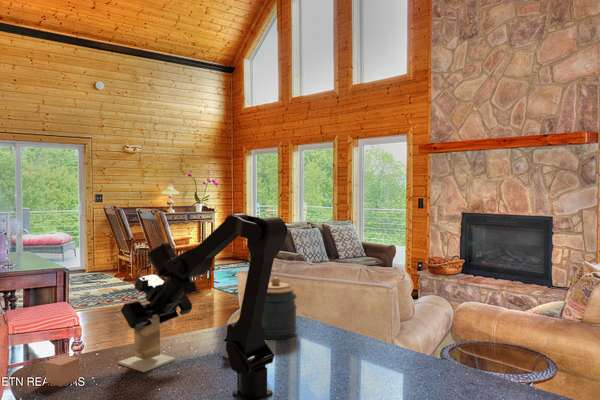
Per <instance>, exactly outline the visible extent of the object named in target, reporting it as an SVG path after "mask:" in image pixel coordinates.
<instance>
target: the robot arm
mask: <svg viewBox="0 0 600 400" xmlns="http://www.w3.org/2000/svg"><path fill="white" fill-rule="evenodd" d="M287 236H288V225H286V223H285V221H284V220H283V219H282V218H281V217H279V216H270V217H269V216H267V217H259V216H255V215H254V216H253V215H249V214H246V213H234V214H233V213H232V214H231V213H230V214H229V215H228V216H226V217H225V220H224V221H223V222H221V223H220V224H219V225H218V226H217V227H216V228H215V229H214V230H213V231H212V232H210V234H208V236H207V237H206V238H204V239H203V240H202V241H201V242H200V243H199V244H198V245H196V246H195V247H192V248H190V249H187V250H185V251H183V252H182V253H180V254H178V255H177V254H176V253H175V251H174V249H173V248H172V247H173V246H171V243H170V242H162V243H161V244H160V245H159V246H157V247H155V248H154V249H152V250H151V251H149V253H148V254H147V259H148V261H149V262H150V264H151V266H152V267H153V269H154V270H155V272H156V274H157V275H156V274H149V275H143V276H141V277H138V279H137V280H135V283H134V288H135V289H136V290H137V291H138V292H139V293H142V292H143V293H144V294H145V295H146V297H145V300H147V301H149V302H150V303H149V304H146V305H145V306H146V307H145V308H143V306H142V304H141V303H140V301H141V300H135V301H129V302H126V303H124V304H122V305H123V306H122V307H121V309H120V312H121V313H122V316H123V317H124V319H125V321H126V322H127V325H128V326H129V328H131V329H133V330H134V328H135V330H136V332H137V331H140V330H142V329H144V328H145V327H147V326H149V325H151V324H152V323H151V321H150V319H152V317H153V316H155V315H158V317H159V323H160V325H161V324H163V323H167V322H169V321H170V320H173V319H177V318H178V317H179V314H180V316H184V315H187V314H189V313H190V312H191V311H192V310H193V304H192V302H191V300H190V299H189V297H188V296H187V295H188V294H193V293H196V292H197V291H198V289H197V285H196V281H193V279H192V278H195V277H201V276H204V275H205V274H206V273H207V272H208V270H209V269H210V268H211V267H212V265H213V262H214V261H213V260H214V259H215V258H216V256H218V255H219V254H220V253H221V252H222V251H224V249H226V248H227V247H228V246H229V245H230V244H231V243H232V242H234V241H235V240H236V239H237V238H238V237H240V238H244V239H246V247H247V249H248V252H249V255H250V260H249V266H248V271H247V275H246V280H245V286H244V291H243V295H242V301H241V307H240V311H239V312H240V313H239V317H238V319H237V321H233V322H231V323H229V324H228V325H227V326H228V327H227V326H226V327H227V333H226V335H227V336H226V335H225V338H224V340H223V341H224V342H225V346H226V351H227V354H228V357H229V359H228V361H229V364H230V368H231V371H234V372H235V373H236V374H237V377H236V378H237V379H236V380H237V381H236V382H237V383H236V384H237V387H236V390H233V391H232V393H231V394H232V395H233V396H235V397H237V398H240V399H241V400H262V399H265V398H266V397H268V396H271V395H273V393H274V392H273V391H272V390H270V389H268V367H267V365H269V364H272V363H273V361H274V359H275V353H274V352H273V351H272V349H271V347H270V346H269V344H268V343H267V341H266V339H265V329H264V327H263V324H262V316H263V310H264V305H265V300H266V295H267V290H268V285H269V283H270V279H271V276H272V270H273V263H274V262H275V258H276V257H277V255H278V254H279V253H280V252H281V250H282V248H283V247H284V244H285V241H286V239H287ZM161 277H165V280H163V279H162V278H161ZM178 308H179V309H180V311H179V314H178V312H177V311H178Z"/></svg>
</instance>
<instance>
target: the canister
mask: <svg viewBox="0 0 600 400" xmlns="http://www.w3.org/2000/svg"><path fill="white" fill-rule="evenodd" d="M280 280H281V279H280V278H279V277H276V276H275V277H273V278H271V281H269V285H268V290H267V295H266V300H265V305H264V310H263V316H262V324H263V327H264V329H265V340H271V341H272V340H275V341H276V340H286V339H291V338H293V337H294V336H296V334H297V329H298V327H297V305H296V299H297V294H296V293H294V292H293V291H294V290H295V287H293V286H292V285H290V284H289V283H287V282H283V281H282V282H281V281H280Z"/></svg>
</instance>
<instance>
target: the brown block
mask: <svg viewBox="0 0 600 400" xmlns="http://www.w3.org/2000/svg"><path fill="white" fill-rule="evenodd" d="M139 301H140V303H141V304H142V306H143V308H145V307H146V306H145V305H146V304H149V303H150V302H149V301H147V300H146V299H143V300H139ZM150 321H151V323H152V324H151V325H149V326H147V327H145V328H144V329H142V330H140V331H137V332H136V330H135V328H134V329H133V334H134V336H133V339H134V341H133V343H134V356H135V357H138V358H141V359H145V360H147V359H150V358H153V357H156V356H158V355H160V354H161V333H160V332H161V330H160V329H161V328H160V327H161V326H160V325H161V324H160V323H159V317H158V315H155V316H153V317H152V319H150Z"/></svg>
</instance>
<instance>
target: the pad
mask: <svg viewBox="0 0 600 400" xmlns="http://www.w3.org/2000/svg"><path fill="white" fill-rule="evenodd" d="M175 361H176V358H175V357H173V356H170V355H166V354H162V353H160V355H158V356H156V357H153V358H150V359H147V360H145V359H141V358H138V357H135V355H134V356H132V357H128V358H125V359H123V360H119V361H118V365H121V366H123V367H127V368H130V369H134V370H136V371H139V372H143V373H145V372H148V371H150V370H153V369H154V370H155V368H158V367H162V366H164V365H166V364H169V363H172V362H175Z"/></svg>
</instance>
